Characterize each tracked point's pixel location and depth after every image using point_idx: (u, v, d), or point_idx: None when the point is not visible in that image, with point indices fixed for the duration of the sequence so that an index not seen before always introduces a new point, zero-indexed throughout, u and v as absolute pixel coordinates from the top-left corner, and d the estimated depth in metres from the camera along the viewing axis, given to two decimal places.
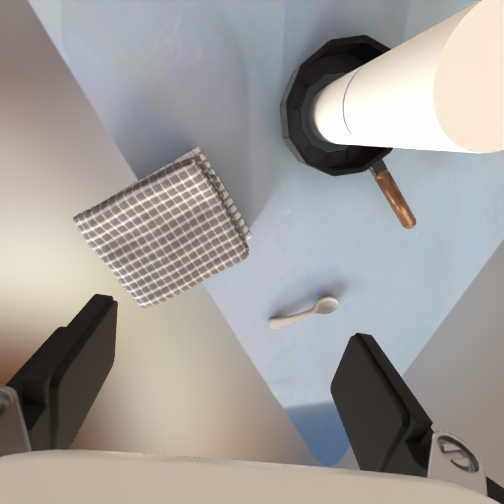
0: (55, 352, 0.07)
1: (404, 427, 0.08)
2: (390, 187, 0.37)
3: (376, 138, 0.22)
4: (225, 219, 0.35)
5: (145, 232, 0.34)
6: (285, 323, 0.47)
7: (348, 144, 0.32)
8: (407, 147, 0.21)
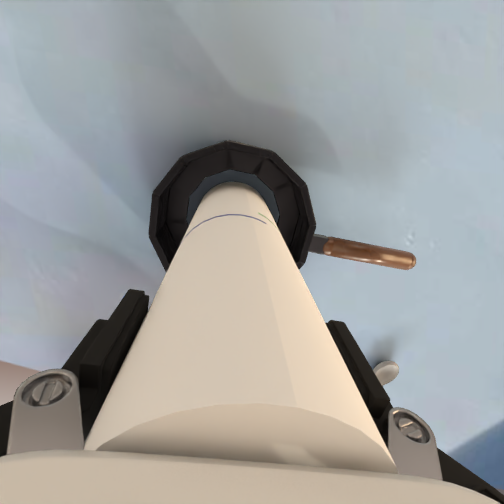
0: (104, 340, 0.08)
1: None
2: (349, 253, 0.27)
3: None
4: None
5: None
6: None
7: None
8: None
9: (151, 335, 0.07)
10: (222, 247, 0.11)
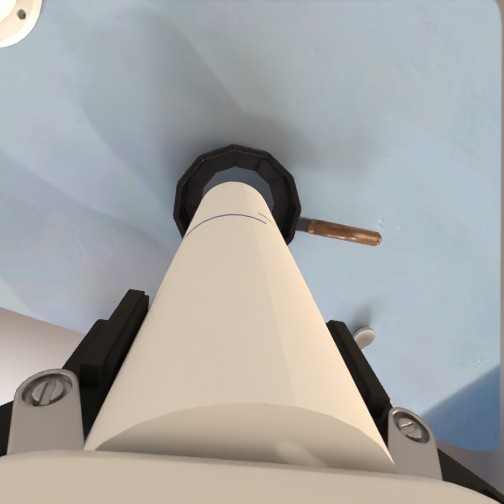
0: (104, 340, 0.08)
1: None
2: (327, 232, 0.34)
3: None
4: None
5: None
6: None
7: None
8: None
9: (151, 335, 0.07)
10: (222, 247, 0.11)
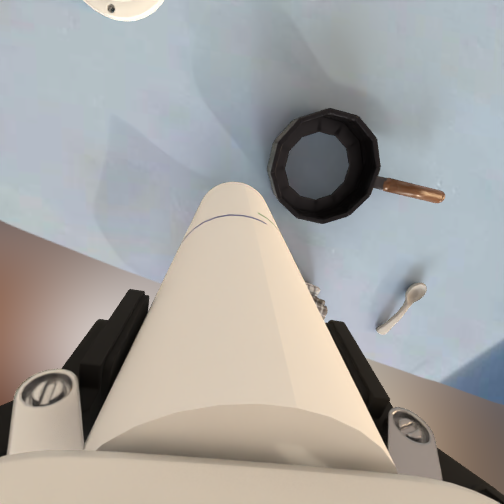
0: (104, 340, 0.08)
1: None
2: (400, 188, 0.39)
3: None
4: None
5: None
6: (391, 325, 0.52)
7: None
8: None
9: (150, 336, 0.07)
10: (222, 248, 0.11)
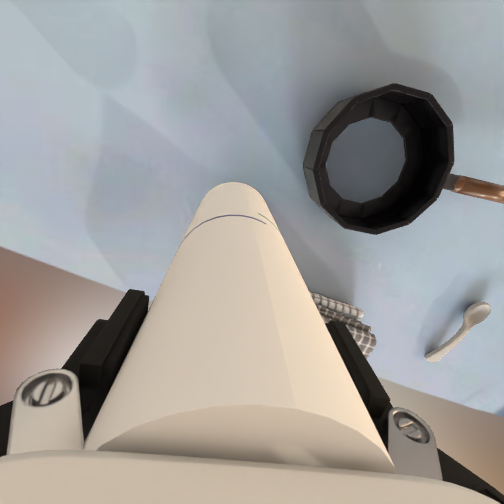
0: (104, 340, 0.08)
1: (364, 404, 0.08)
2: (477, 189, 0.31)
3: None
4: None
5: None
6: (445, 352, 0.43)
7: None
8: None
9: (150, 336, 0.07)
10: (222, 248, 0.11)
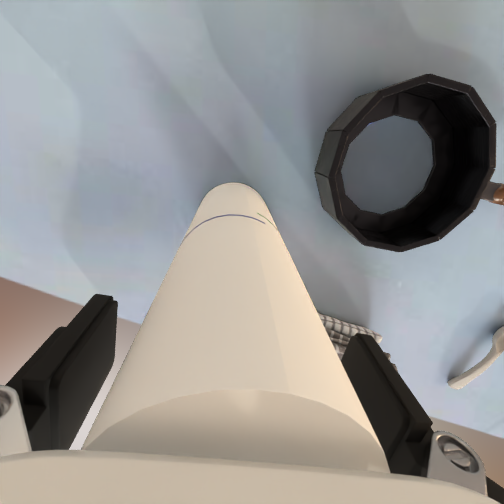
0: (55, 352, 0.07)
1: (404, 427, 0.08)
2: None
3: None
4: None
5: None
6: (470, 379, 0.39)
7: None
8: None
9: (153, 329, 0.08)
10: (221, 247, 0.12)
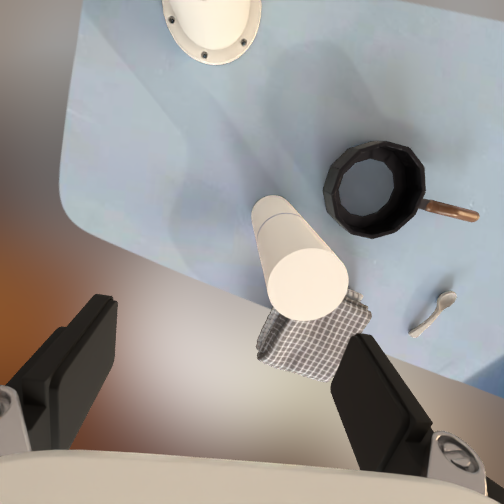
0: (55, 352, 0.07)
1: (404, 427, 0.08)
2: (441, 209, 0.45)
3: None
4: (343, 305, 0.48)
5: (303, 343, 0.50)
6: (423, 329, 0.57)
7: None
8: None
9: (281, 244, 0.27)
10: (291, 224, 0.31)
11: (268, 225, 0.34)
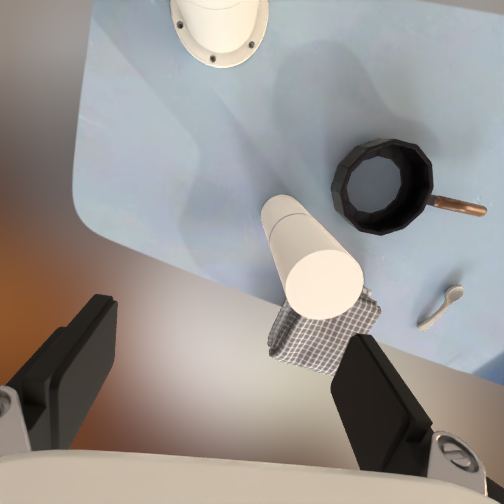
0: (55, 352, 0.07)
1: (404, 427, 0.08)
2: (449, 205, 0.46)
3: None
4: None
5: (314, 339, 0.51)
6: (431, 323, 0.58)
7: None
8: None
9: (296, 246, 0.27)
10: (304, 225, 0.31)
11: (281, 226, 0.34)
